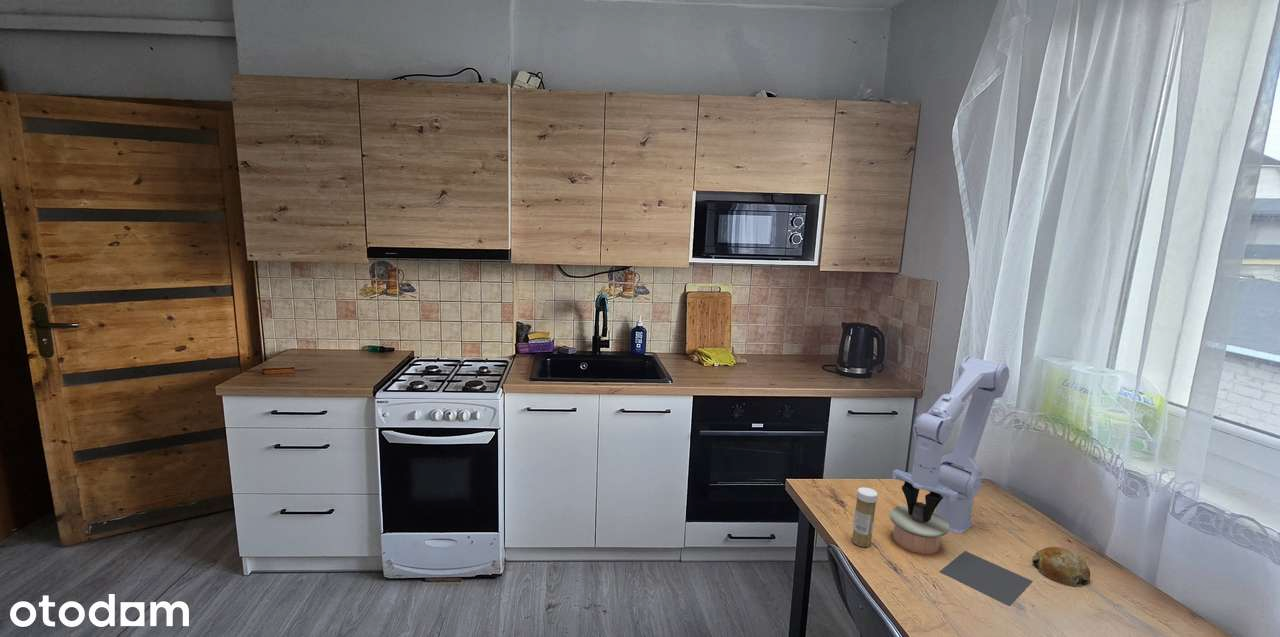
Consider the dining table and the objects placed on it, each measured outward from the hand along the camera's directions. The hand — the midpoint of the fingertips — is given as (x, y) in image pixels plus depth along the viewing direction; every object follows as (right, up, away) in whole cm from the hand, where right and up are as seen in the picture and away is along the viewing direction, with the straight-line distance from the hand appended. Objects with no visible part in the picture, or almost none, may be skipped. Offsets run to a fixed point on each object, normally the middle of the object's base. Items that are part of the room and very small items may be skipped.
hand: (919, 516), depth 138 cm
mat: (+9, -10, -11) cm, 17 cm away
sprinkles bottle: (-14, -7, 0) cm, 15 cm away
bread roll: (+27, -10, -9) cm, 30 cm away
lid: (0, -1, 0) cm, 1 cm away
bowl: (0, -7, +1) cm, 7 cm away
